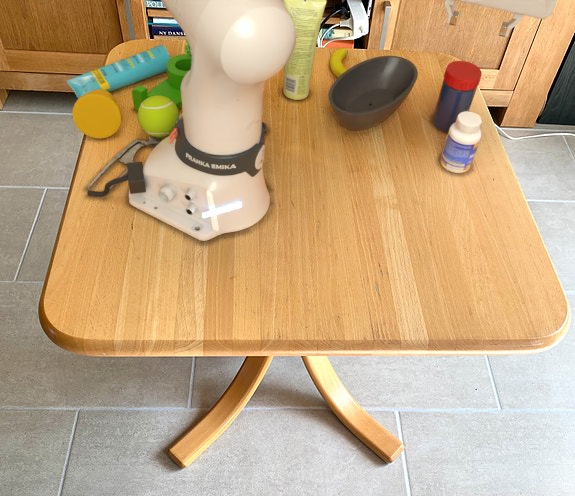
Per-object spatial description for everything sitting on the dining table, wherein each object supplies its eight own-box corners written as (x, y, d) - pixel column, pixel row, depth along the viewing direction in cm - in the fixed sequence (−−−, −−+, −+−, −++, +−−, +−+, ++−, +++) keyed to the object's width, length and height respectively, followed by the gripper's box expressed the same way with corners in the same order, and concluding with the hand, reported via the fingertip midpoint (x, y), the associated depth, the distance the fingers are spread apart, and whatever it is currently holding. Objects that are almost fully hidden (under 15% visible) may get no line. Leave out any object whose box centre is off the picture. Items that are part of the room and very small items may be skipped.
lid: (440, 85, 107) (443, 75, 105) (446, 67, 111) (449, 57, 109) (475, 94, 106) (479, 84, 104) (480, 75, 110) (484, 65, 108)
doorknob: (120, 96, 103) (70, 92, 101) (121, 140, 107) (73, 137, 106) (124, 80, 109) (77, 77, 108) (125, 122, 113) (79, 120, 112)
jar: (429, 127, 114) (443, 77, 106) (435, 109, 118) (449, 60, 110) (461, 136, 113) (478, 86, 105) (466, 117, 117) (482, 68, 108)
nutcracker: (83, 189, 99) (110, 201, 98) (83, 186, 98) (109, 197, 97) (140, 133, 109) (164, 143, 108) (139, 129, 108) (164, 139, 107)
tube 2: (300, 81, 121) (308, -15, 107) (316, 94, 119) (327, -2, 104) (277, 90, 119) (282, -7, 104) (293, 104, 116) (300, 6, 102)
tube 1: (172, 52, 115) (74, 89, 110) (178, 75, 119) (83, 112, 114) (157, 37, 120) (63, 72, 115) (163, 60, 124) (72, 94, 118)
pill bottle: (470, 176, 106) (487, 131, 98) (438, 171, 106) (453, 126, 99) (470, 156, 109) (486, 111, 102) (440, 151, 110) (454, 106, 102)
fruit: (330, 82, 122) (355, 84, 122) (331, 73, 120) (357, 74, 120) (327, 54, 128) (351, 55, 129) (329, 45, 127) (353, 46, 127)
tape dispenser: (184, 71, 121) (182, 50, 118) (213, 83, 119) (212, 62, 116) (133, 108, 113) (129, 87, 109) (163, 123, 110) (161, 101, 107)
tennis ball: (127, 99, 101) (147, 90, 107) (132, 140, 105) (151, 129, 111) (166, 102, 100) (184, 92, 106) (170, 143, 103) (187, 132, 109)
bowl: (426, 99, 119) (433, 71, 115) (361, 154, 108) (367, 125, 103) (375, 74, 124) (380, 46, 119) (307, 124, 112) (310, 95, 108)
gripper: (430, -64, 90) (411, 24, 101) (573, -35, 87) (537, 53, 97) (438, -79, 94) (419, 6, 105) (575, -53, 90) (540, 33, 101)
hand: (477, 29), depth 101 cm, fingers open, 7 cm apart
